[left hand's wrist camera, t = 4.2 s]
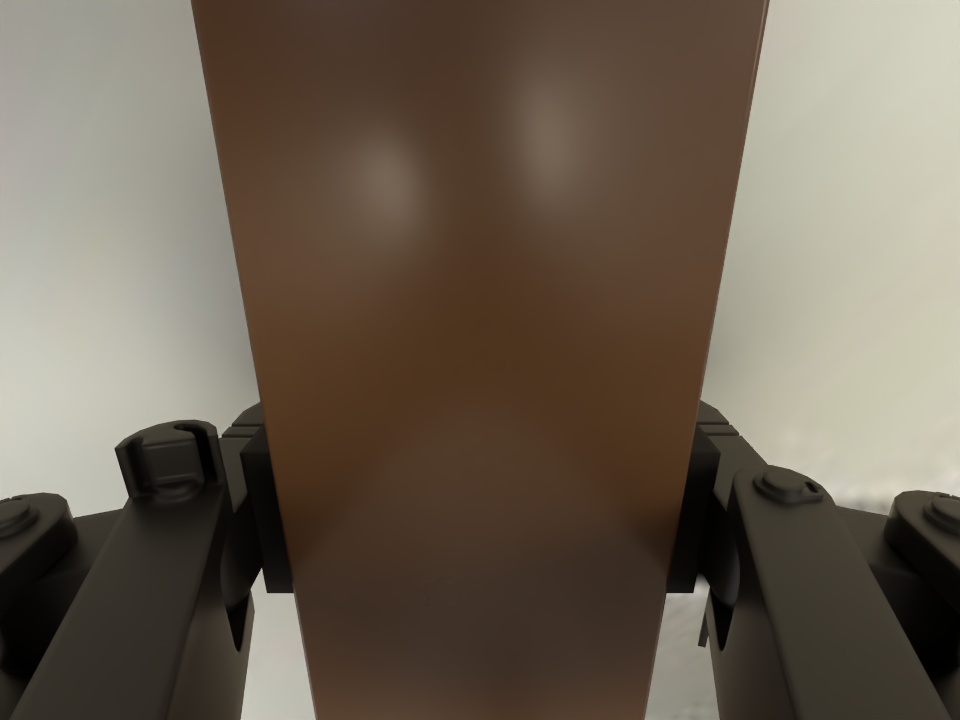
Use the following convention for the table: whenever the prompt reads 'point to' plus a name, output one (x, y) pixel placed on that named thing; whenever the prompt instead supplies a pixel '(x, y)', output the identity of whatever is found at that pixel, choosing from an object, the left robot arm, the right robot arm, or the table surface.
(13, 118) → the table surface
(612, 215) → the beam
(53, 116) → the table surface
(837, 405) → the table surface
